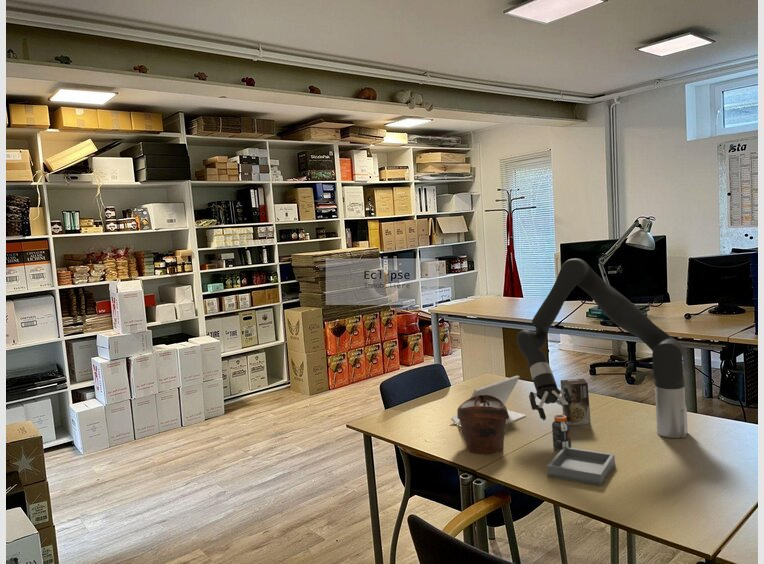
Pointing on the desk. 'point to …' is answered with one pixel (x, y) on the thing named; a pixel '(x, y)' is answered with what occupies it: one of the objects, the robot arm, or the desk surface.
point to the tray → (581, 465)
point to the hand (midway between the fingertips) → (556, 417)
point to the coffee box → (577, 401)
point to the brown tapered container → (483, 423)
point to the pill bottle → (561, 432)
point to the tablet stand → (498, 396)
